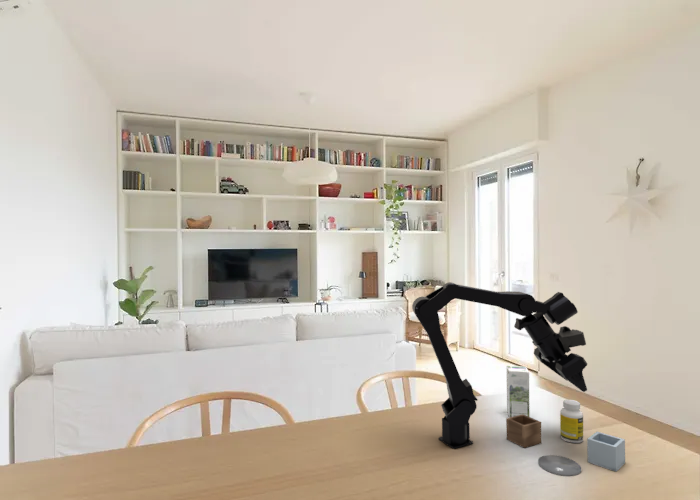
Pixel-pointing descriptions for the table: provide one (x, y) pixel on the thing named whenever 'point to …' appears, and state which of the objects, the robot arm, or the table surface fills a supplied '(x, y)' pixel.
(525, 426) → the walnut box
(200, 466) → the table surface
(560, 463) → the coaster
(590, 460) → the slate cup
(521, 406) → the syrup box
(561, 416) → the supplement bottle
